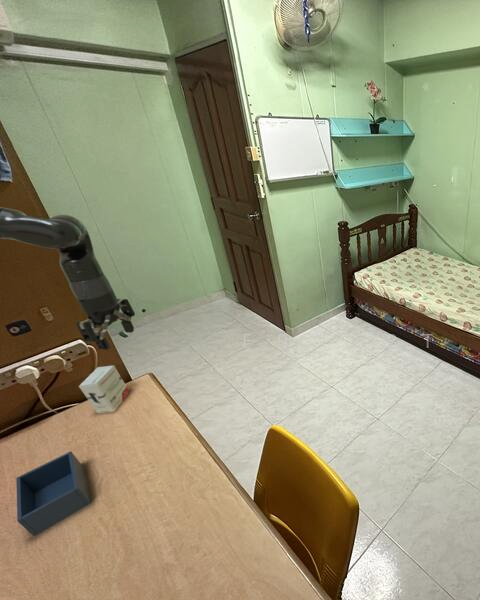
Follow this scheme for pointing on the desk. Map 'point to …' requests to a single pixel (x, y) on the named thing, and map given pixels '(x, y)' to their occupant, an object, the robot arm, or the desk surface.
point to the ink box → (104, 389)
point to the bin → (51, 493)
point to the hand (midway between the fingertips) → (118, 340)
